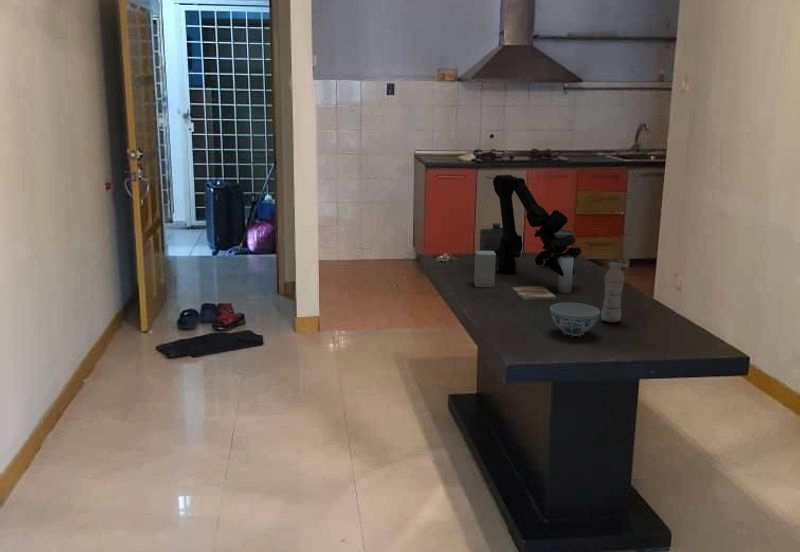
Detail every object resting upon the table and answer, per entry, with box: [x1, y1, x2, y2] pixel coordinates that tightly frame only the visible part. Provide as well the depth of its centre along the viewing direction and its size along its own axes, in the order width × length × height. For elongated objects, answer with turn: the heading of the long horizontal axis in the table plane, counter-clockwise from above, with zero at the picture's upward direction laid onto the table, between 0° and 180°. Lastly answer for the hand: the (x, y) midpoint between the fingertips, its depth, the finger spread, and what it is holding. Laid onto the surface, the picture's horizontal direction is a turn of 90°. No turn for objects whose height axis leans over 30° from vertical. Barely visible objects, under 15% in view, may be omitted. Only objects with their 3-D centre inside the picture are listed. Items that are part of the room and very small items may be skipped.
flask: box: [478, 222, 503, 267], centre depth 327 cm, size 4×14×18 cm, turn 106°
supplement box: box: [473, 250, 496, 288], centre depth 297 cm, size 7×7×13 cm
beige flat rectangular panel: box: [511, 285, 557, 301], centre depth 286 cm, size 15×12×1 cm
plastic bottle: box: [600, 259, 626, 323], centre depth 252 cm, size 6×7×20 cm
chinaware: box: [549, 302, 601, 337], centre depth 241 cm, size 15×15×8 cm
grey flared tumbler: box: [557, 256, 575, 294], centre depth 289 cm, size 5×5×13 cm
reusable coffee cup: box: [543, 229, 575, 269], centre depth 327 cm, size 13×13×15 cm
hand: (568, 274), depth 288 cm, fingers closed on grey flared tumbler, 5 cm apart
